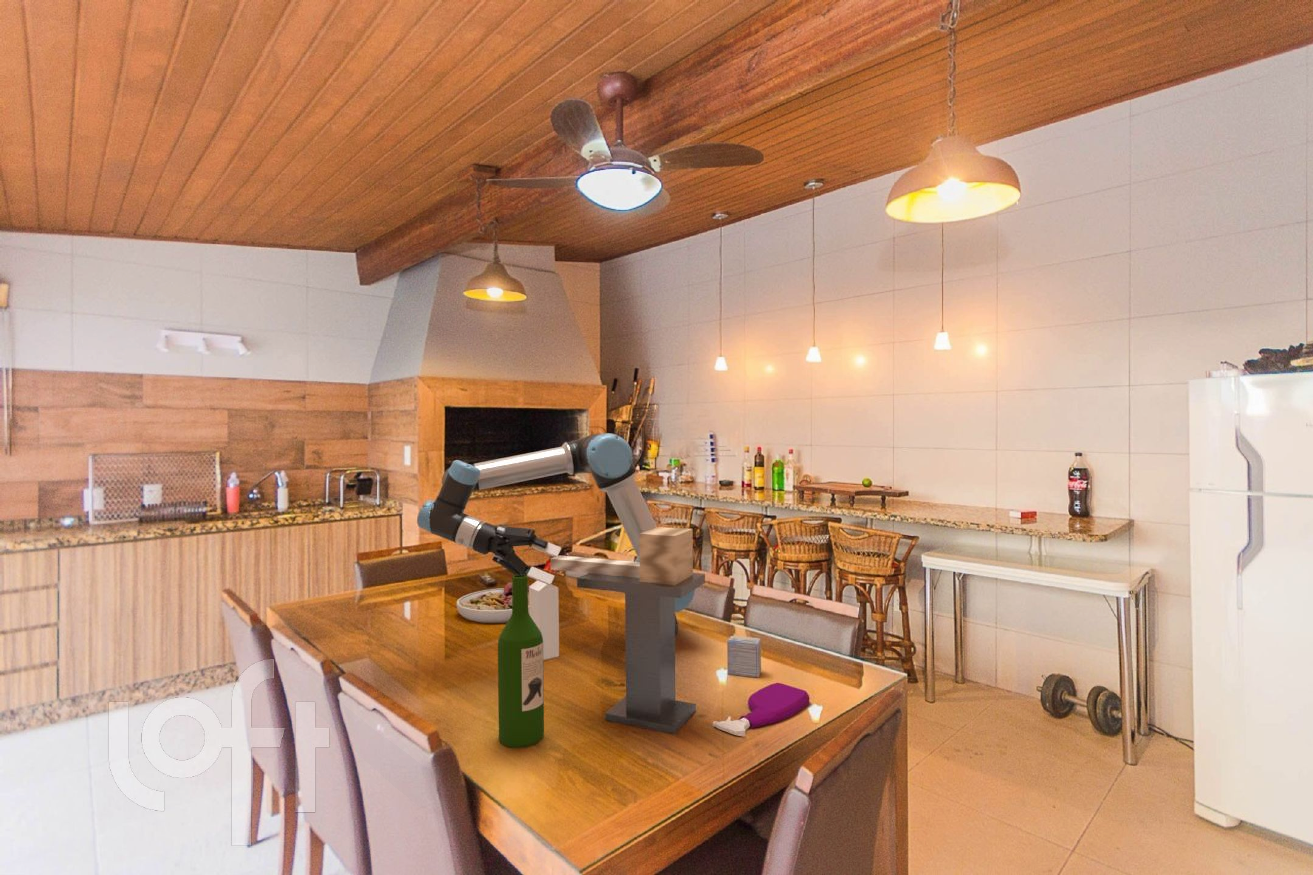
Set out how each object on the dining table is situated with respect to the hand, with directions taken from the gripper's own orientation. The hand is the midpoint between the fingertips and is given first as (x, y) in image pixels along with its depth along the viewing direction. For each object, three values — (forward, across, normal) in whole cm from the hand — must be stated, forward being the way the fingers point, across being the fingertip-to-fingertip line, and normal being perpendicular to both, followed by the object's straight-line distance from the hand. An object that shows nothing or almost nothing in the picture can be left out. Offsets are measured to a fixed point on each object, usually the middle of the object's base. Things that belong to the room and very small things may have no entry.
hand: (555, 567), depth 163 cm
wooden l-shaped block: (+15, +20, -8) cm, 26 cm away
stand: (+32, +3, -27) cm, 42 cm away
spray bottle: (+56, +10, -20) cm, 60 cm away
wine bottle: (+10, +5, -42) cm, 43 cm away
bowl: (-17, -66, +15) cm, 69 cm away
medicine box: (+54, -7, -4) cm, 55 cm away
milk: (+5, -30, -10) cm, 31 cm away
